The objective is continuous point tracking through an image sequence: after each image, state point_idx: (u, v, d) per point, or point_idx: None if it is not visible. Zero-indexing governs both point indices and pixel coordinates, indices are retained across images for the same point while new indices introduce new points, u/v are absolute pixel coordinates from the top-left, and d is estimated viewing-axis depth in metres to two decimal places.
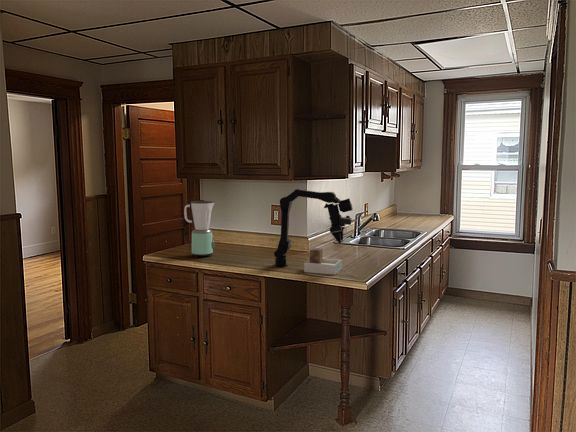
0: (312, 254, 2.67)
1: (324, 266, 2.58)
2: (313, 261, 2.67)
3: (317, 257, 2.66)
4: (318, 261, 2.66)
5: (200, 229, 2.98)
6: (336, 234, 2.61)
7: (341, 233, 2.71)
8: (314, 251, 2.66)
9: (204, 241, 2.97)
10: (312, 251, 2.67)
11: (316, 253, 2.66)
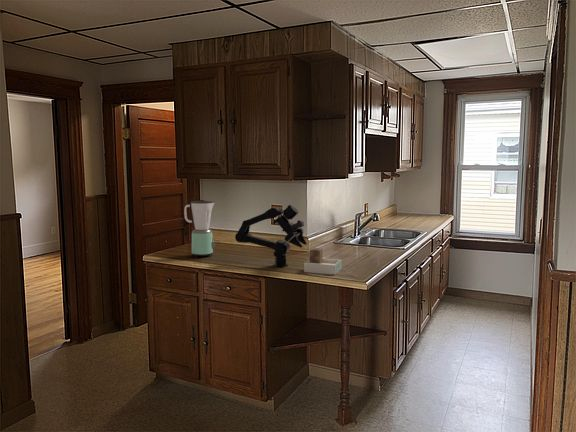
0: (312, 254, 2.67)
1: (324, 266, 2.58)
2: (313, 261, 2.67)
3: (317, 257, 2.66)
4: (318, 261, 2.66)
5: (200, 229, 2.98)
6: (294, 241, 2.67)
7: (302, 238, 2.76)
8: (314, 251, 2.66)
9: (204, 241, 2.97)
10: (312, 251, 2.67)
11: (316, 253, 2.66)
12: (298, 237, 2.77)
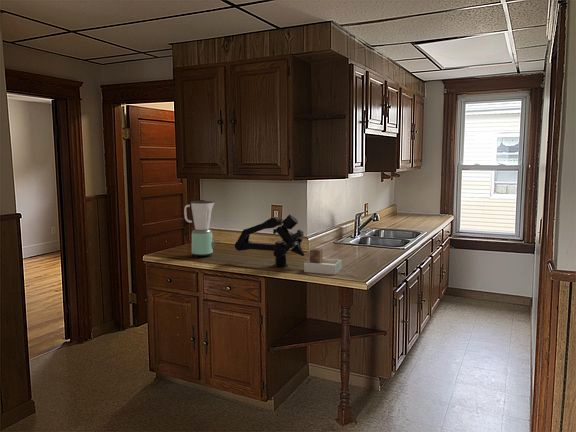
0: (312, 254, 2.67)
1: (324, 266, 2.58)
2: (313, 261, 2.67)
3: (317, 257, 2.66)
4: (318, 261, 2.66)
5: (200, 229, 2.98)
6: (296, 249, 2.71)
7: None
8: (314, 251, 2.66)
9: (204, 241, 2.97)
10: (312, 251, 2.67)
11: (316, 253, 2.66)
12: None
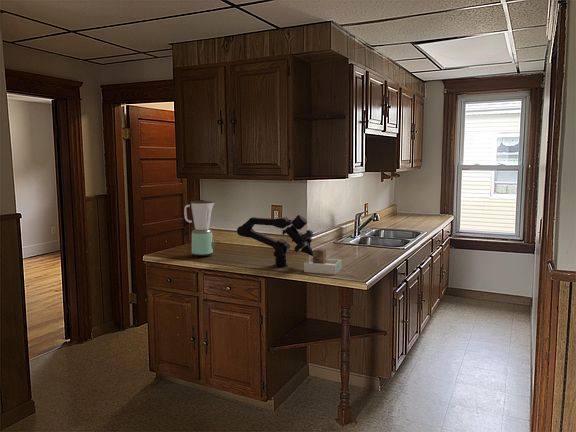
0: (316, 254, 2.66)
1: (324, 266, 2.58)
2: (317, 261, 2.67)
3: (321, 257, 2.66)
4: (322, 261, 2.66)
5: (200, 229, 2.98)
6: (306, 249, 2.69)
7: None
8: (318, 251, 2.66)
9: (204, 241, 2.97)
10: (316, 251, 2.66)
11: (320, 253, 2.65)
12: None
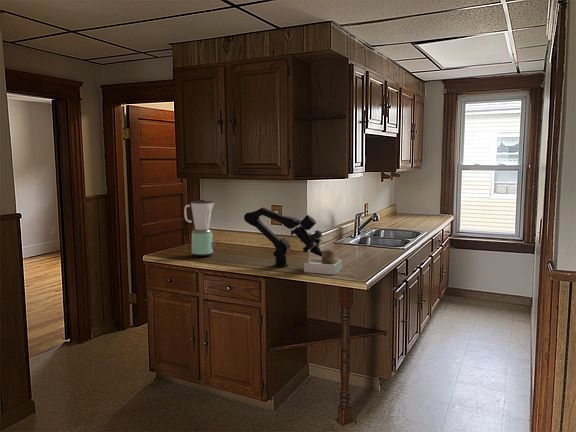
0: (325, 255, 2.65)
1: (324, 266, 2.58)
2: (326, 262, 2.65)
3: (330, 258, 2.64)
4: (331, 262, 2.64)
5: (200, 229, 2.98)
6: (314, 250, 2.68)
7: None
8: (327, 252, 2.64)
9: (204, 241, 2.97)
10: (325, 252, 2.64)
11: (329, 254, 2.64)
12: None
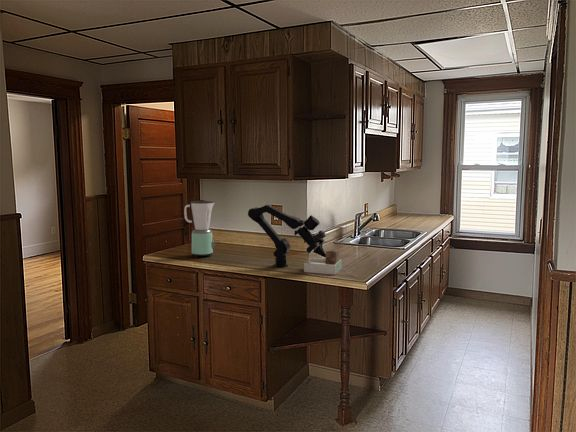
0: (328, 255, 2.64)
1: (324, 266, 2.58)
2: (329, 262, 2.64)
3: (334, 258, 2.63)
4: (335, 262, 2.63)
5: (200, 229, 2.98)
6: (318, 250, 2.67)
7: None
8: (331, 252, 2.63)
9: (204, 241, 2.97)
10: (328, 252, 2.64)
11: (333, 254, 2.63)
12: None
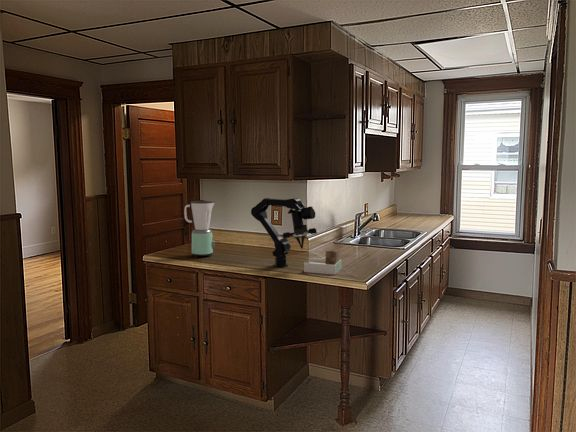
0: (328, 255, 2.64)
1: (324, 266, 2.58)
2: (329, 262, 2.64)
3: (334, 258, 2.63)
4: (335, 262, 2.63)
5: (200, 229, 2.98)
6: None
7: (301, 241, 2.68)
8: (331, 252, 2.63)
9: (204, 241, 2.97)
10: (328, 252, 2.64)
11: (333, 254, 2.63)
12: None
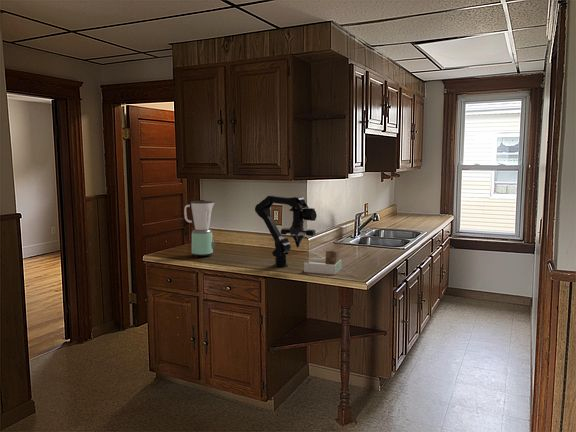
0: (328, 255, 2.64)
1: (324, 266, 2.58)
2: (329, 262, 2.64)
3: (334, 258, 2.63)
4: (335, 262, 2.63)
5: (200, 229, 2.98)
6: None
7: (298, 240, 2.68)
8: (331, 252, 2.63)
9: (204, 241, 2.97)
10: (328, 252, 2.64)
11: (333, 254, 2.63)
12: None
